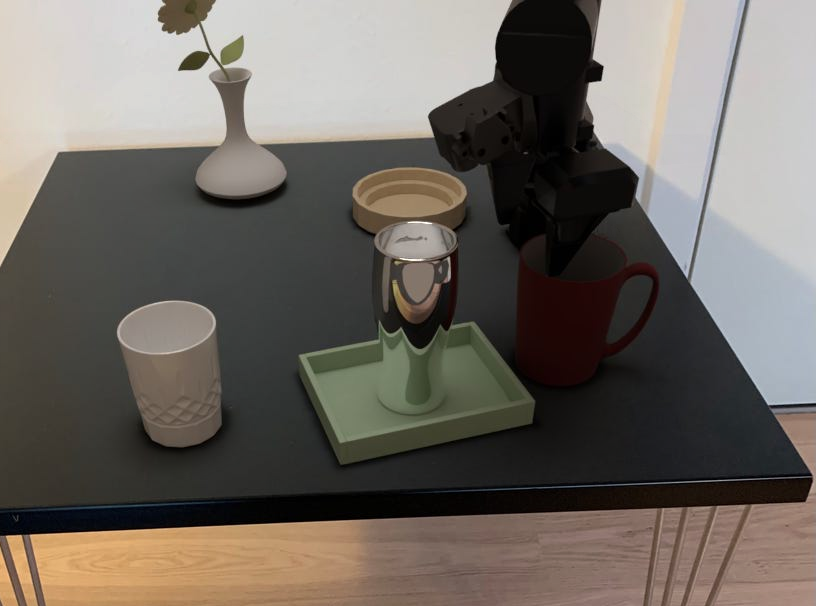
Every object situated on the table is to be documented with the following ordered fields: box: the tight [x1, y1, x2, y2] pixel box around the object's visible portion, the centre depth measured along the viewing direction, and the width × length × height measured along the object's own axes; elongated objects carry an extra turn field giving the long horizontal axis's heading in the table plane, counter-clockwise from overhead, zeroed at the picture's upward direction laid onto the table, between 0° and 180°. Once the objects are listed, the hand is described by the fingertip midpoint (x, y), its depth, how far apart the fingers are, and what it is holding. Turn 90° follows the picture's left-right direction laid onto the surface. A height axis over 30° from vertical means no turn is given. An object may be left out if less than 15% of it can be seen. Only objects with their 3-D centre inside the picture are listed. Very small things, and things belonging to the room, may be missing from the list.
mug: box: [514, 233, 660, 387], centre depth 80 cm, size 12×9×11 cm
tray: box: [298, 320, 536, 466], centre depth 80 cm, size 17×13×2 cm
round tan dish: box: [352, 166, 468, 235], centre depth 106 cm, size 13×13×3 cm
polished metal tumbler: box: [371, 221, 460, 415], centre depth 75 cm, size 7×7×15 cm
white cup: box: [116, 300, 223, 448], centre depth 75 cm, size 8×8×10 cm
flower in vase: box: [157, 0, 288, 200], centre depth 105 cm, size 13×11×25 cm
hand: (527, 248), depth 74 cm, fingers open, 9 cm apart
